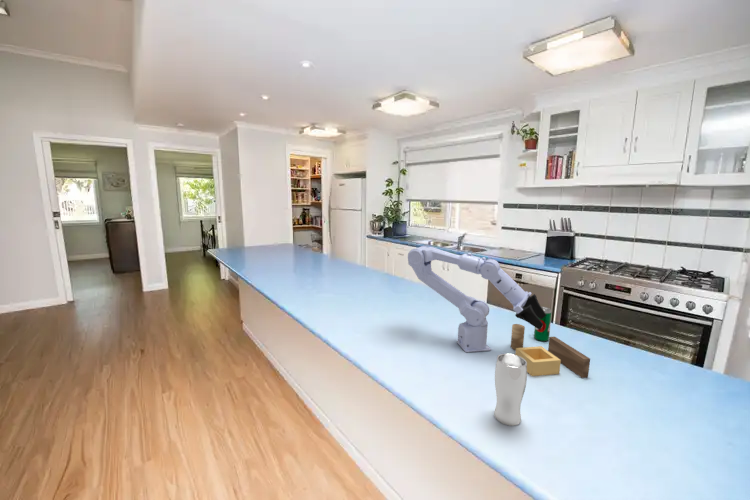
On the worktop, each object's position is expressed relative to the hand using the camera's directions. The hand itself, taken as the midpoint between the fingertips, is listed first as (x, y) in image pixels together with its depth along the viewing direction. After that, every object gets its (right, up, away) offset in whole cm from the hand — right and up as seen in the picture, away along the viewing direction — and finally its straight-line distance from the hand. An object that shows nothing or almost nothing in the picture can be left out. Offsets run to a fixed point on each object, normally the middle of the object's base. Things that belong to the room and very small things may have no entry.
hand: (542, 321), depth 103 cm
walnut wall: (+8, -14, 0) cm, 16 cm away
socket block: (-3, -14, -1) cm, 14 cm away
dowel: (-3, -12, +11) cm, 17 cm away
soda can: (+9, -11, +18) cm, 23 cm away
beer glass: (-21, -18, -24) cm, 37 cm away
